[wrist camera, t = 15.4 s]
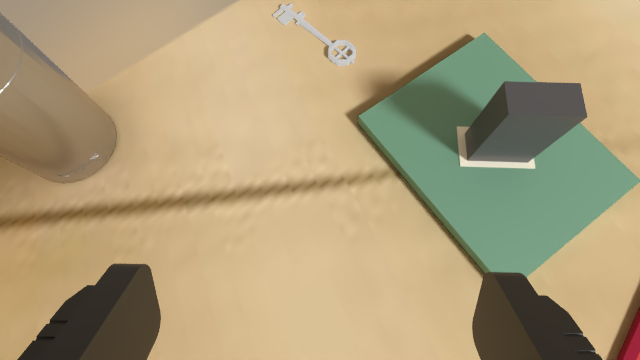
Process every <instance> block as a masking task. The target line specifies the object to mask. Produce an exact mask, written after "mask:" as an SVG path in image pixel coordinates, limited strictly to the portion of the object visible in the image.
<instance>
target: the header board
mask: <svg viewBox="0 0 640 360" xmlns="http://www.w3.org/2000/svg"><path fill="white" fill-rule="evenodd" d="M504 81H510V82H536V81H535V80H534V79H533V78H532V77H531V76H530V75H529V74H528V73H527V72H525V71H524V70H523V69H522V68H521V67H520V66H519V65H518V64H517V63H516V62H515V61H514V60H513V59H512V58H511V57H510V56H509V55H508V54H506V53H505V52H504V51H503V50H502V49H501V48H500V47H499V46H498V45H497V44H496V43H495V42H494V41H493V40H492V39H491V38H490V37H488V36H487V35H486V34H485V33H483V34H481V35H480V36H478V37H477V38H475V39H474V40H472V41H471V42H469V43H468V44H466V45H465V46H463V47H462V48H460V49H459V50H457V51H456V52H454V53H453V54H451V55H450V56H448V57H447V58H445V59H444V60H442V61H441V62H439V63H438V64H436V65H435V66H433V67H432V68H430V69H429V70H427V71H426V72H424V73H423V74H421V75H420V76H418V77H417V78H415V79H414V80H412V81H411V82H409V83H408V84H406V85H405V86H403V87H402V88H400V89H399V90H397V91H396V92H394V93H393V94H391V95H390V96H388V97H387V98H385V99H384V100H382V101H381V102H379V103H377V104H376V105H374V106H373V107H371V108H370V109H368V110H367V111H365V112H364V113H362V114H361V115H359V116H358V122H357V123H358V124H359V125H360V127H361V128H362V129H363V130H364V131H365V132H366V134H367V135H368V136H369V137H370V138H371V140H372V141H373V142H374V143H375V144H376V145H377V147H378V148H379V149H380V150H381V151H382V153H383V154H384V155H385V156H386V157H387V158H388V160H389V161H390V162H391V163H392V164H393V166H394V167H395V168H396V169H397V170H398V172H399V173H400V174H401V175H402V176H403V177H404V179H405V180H406V181H407V182H408V183H409V185H410V186H411V187H412V188H413V189H414V190H415V192H416V193H417V194H418V195H419V196H420V198H421V199H422V200H423V201H424V202H425V203H426V205H427V206H428V207H429V208H430V209H431V211H432V212H433V213H434V214H435V215H436V216H437V218H438V219H439V220H440V221H441V222H442V224H443V225H444V226H445V227H446V228H447V229H448V231H449V232H450V233H451V234H452V235H453V237H454V238H455V239H456V240H457V241H458V243H459V244H460V245H461V246H462V247H463V248H464V250H465V251H466V252H467V253H468V254H469V256H470V257H471V258H472V259H473V260H474V261H475V263H476V264H477V265H478V266H479V267H480V269H481V270H482V271H483V272H484V273H485V274H486V273H487V272H513V273H522V274H523V275H524V276H525V277H527V276H528V275H530V274H531V273H532V272H533V271H534V270H536V269H537V268H538V267H539V266H540V265H542V264H543V263H544V262H545V261H546V260H547V259H549V258H550V257H551V256H552V255H553V254H555V253H556V252H557V251H558V250H559V249H561V248H562V247H563V246H564V245H565V244H566V243H568V242H569V241H570V240H571V239H572V238H574V237H575V236H576V235H577V234H578V233H580V232H581V231H582V230H583V229H584V228H585V227H587V226H588V225H589V224H590V223H591V222H593V221H594V220H595V219H596V218H597V217H599V216H600V215H601V214H602V213H603V212H605V211H606V210H607V209H608V208H609V207H610V206H612V205H613V204H614V203H615V202H616V201H618V200H619V199H620V198H621V197H622V196H624V195H625V194H626V193H627V192H628V191H629V190H631V189H632V188H633V187H634V186H635V185H637V184H638V183H639V182H640V179H639V178H637V177H636V176H635V175H634V174H633V173H632V172H631V171H630V170H629V169H628V168H627V167H626V166H625V165H624V164H623V163H622V162H621V161H620V160H618V159H617V158H616V157H615V156H614V155H613V154H612V153H611V152H610V151H609V150H608V149H607V148H606V147H605V146H604V145H603V144H602V143H601V142H599V141H598V140H597V139H596V138H595V137H594V136H593V135H592V134H591V133H590V132H589V131H588V130H587V129H586V128H585V127H584V126H583V125H581V124H580V123H579V124H577V125H576V126H575V127H574V128H572V129H571V130H570V131H568V132H567V133H566V134H564V135H563V136H562V137H561V138H559V139H558V140H557V141H555V142H554V143H553V144H551V145H550V146H549V147H548V148H546V149H545V150H544V151H542V152H541V153H540V154H538V155H537V156H536V157H535V158H533V159H532V160H531V161H529V162H528V163H523V162H492V161H467V153H466V141H465V133H466V131H467V130H468V129H469V127H470V126H471V125H472V123H473V122H474V121H475V119H476V118H477V117H478V116H479V114H480V113H481V112H482V110H483V109H484V108H485V106H486V105H487V104H488V102H489V101H490V100H491V98H492V97H493V96H494V94H495V93H496V92H497V90H498V89H499V88H500V86H501V85H502V84H503V82H504Z"/></svg>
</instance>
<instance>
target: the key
mask: <svg viewBox="0 0 640 360" xmlns="http://www.w3.org/2000/svg"><path fill="white" fill-rule="evenodd" d="M291 7H293V4H289V5H288V6H286V5H285V4H282V5H281V6H280V9H279V10H278V11H276V12H275V13H274V14H273V16H274V17H276V16H278V14H279V13H281V12H282V11H285V12H284V13H283V14H282V15H281V16H279V17H278V18H277V19H278V20H279V21H280V22H281V23H282V24H284V25H286V24H287V23H288V22H289V21H291V20H292V19H296V20H297V22H296V24H297V25H299V24H300V25H301V26H303V27H304V28H305V29H307V30H308V31H309V32H311V33H312V34H313V35H315V36H316V37H317V38H319V39H320V40H321V41H323V42H324V43H325V44H327V45H328V46H330V47H328V58H329V59H330V60H331V61H332V62H333V63H335V64H336V65H337V66H347V65H348V64H349V63H350V62H351V63H352V64H353V63H354V62H355V61H354V59H355V58H356V48H355V46H353V45H352V44H351V43H350V42H348V41H347V40H337V41H335V42H334V43H332V42H331V41H330V40H328V38H326V37H325V36H324V35H322V34H321V33H320V32H319V31H317V30H316V29H315V28H314V27H312V26H311V25H310V24H309V23H308V22H306V21H305V20H304V19H303V17H305V14H304V13H303V12H302V11H301V12H300V13H298V14H296V13H295V12H294V11H292V10H291V9H290V8H291ZM342 45H345V46H346V48H345V49H344V50H343V51H341V50H339V49H338V48H337V46H342ZM334 49H335V50H336V51H338V52H339V54H338V55H337V56H336V57H335V56H334V55H333V54H331V51H332V50H334ZM348 49H350V50H351V51H352V54H351V55H350V56H349V57H348V56H347V55H346V54H345V52H346V51H347V50H348ZM341 55H343V56H344V57H345V58H347V59H338V58H339V57H340V56H341Z"/></svg>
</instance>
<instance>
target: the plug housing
mask: <svg viewBox="0 0 640 360" xmlns="http://www.w3.org/2000/svg"><path fill="white" fill-rule="evenodd" d="M585 118H587V113H586V109H585V104H584V99H583V94H582V89H581V84H580V83H546V82H510V81H504V82H503V84H502V85H501V86H500V88H499V89H498V90H497V92H496V93H495V94H494V96H493V97H492V98H491V100H490V101H489V102H488V104H487V105H486V106H485V108H484V109H483V110H482V112H481V113H480V114H479V116H478V117H477V118H476V119H475V121H474V122H473V123H472V125H471V126H470V127H469V129H468V130H467V131H466V133H465V141H466V153H467V161H492V162H523V163H528V162H529V161H531V160H532V159H533V158H535V157H536V156H537V155H538V154H540V153H541V152H542V151H544V150H545V149H546V148H548V147H549V146H550V145H551V144H553V143H554V142H555V141H557V140H558V139H559V138H561V137H562V136H563V135H564V134H566V133H567V132H568V131H570V130H571V129H572V128H574V127H575V126H576V125H577V124H579V123H580V122H581V121H583V120H584V119H585Z"/></svg>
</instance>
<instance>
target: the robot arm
mask: <svg viewBox="0 0 640 360" xmlns="http://www.w3.org/2000/svg"><path fill="white" fill-rule="evenodd" d="M115 143H116V128H115V125H114V122H113V121H112V119H111V117H110V116H109V115H108V114H107V113H106V112H105V111H104V110H103V109H102V108H101V107H100V106H99V105H97V104H96V103H95V102H94V101H93V100H92V99H91V98H90V97H89V96H88V95H87V94H86V93H85V92H84V91H83V90H82V89H81V88H80V87H79V86H78V85H77V84H75V83H74V82H73V81H72V80H71V79H70V78H69V77H68V76H67V75H66V74H65V73H64V72H63V71H62V70H61V69H60V68H59V67H58V66H57V65H55V64H54V63H53V62H52V61H51V60H50V59H49V58H48V57H47V56H46V55H45V54H44V53H43V52H42V51H41V50H40V49H39V48H38V47H36V46H35V45H34V44H33V43H32V42H31V41H30V40H29V39H28V38H27V37H26V36H25V35H24V34H23V33H22V32H21V31H20V30H19V29H17V28H16V27H15V26H14V25H13V24H12V23H11V22H10V21H9V20H7V19H6V17H4V16H3V15H2V14H1V13H0V156H1V157H3V158H5V159H7V160H9V161H11V162H13V163H15V164H17V165H19V166H21V167H23V168H25V169H27V170H29V171H31V172H33V173H35V174H37V175H39V176H41V177H43V178H45V179H47V180H50V181H53V182H58V183H69V182H75V181H79V180H82V179H84V178H87V177H89V176H91V175H92V174H94V173H95V172H96V171H98V170H99V169H100V168H101V167H102V166H103V165H104V164H105V163H106V162H107V160H108V159H109V157H110V156H111V154H112V152H113V150H114V147H115ZM160 320H161V315H160V308H159V304H158V299H157V295H156V290H155V286H154V282H153V277H152V273H151V269H150V267H149V266H148V265H146V264H113V265H111V266H110V267H109V268H108V269H107V271H106V272H105V273H104V274H103V276H102V277H101V278H100V280H99V281H98V282H97V284H96V285H87V286H86V287H84V288H83V289H82V290H80V291H79V292H78V293H76V294H75V295H73V296H72V297H71V298H69V299H68V300H66V301H65V302H64V304H63V305H62V306H61V307H60V308H59V310H58V311H57V312H56V313H55V315H54V316H53V317H52V318H51V319H50V323H49V324H46V326H45V327H44V328H43V329H42V330H41V332H40V333H39V334H38V335H37V339H36V341H32V343H31V344H30V345H29V346H28V347H27V349H26V350H25V351H24V352H23V354H22V355H21V356H20V357H19V358H18V360H147V357H148V355H149V353H150V351H151V349H152V347H153V345H154V343H155V341H156V338H157V336H158V332H159V328H160ZM472 329H473V338H474V343H475V346H476V349H477V351H478V354H479V356H480V359H481V360H602V358H601V357H600V356H599V354H596V353H595V349H594V347H593V346H592V345H591V343H590V342H589V340H588V339H587V338H586V337H584V336H583V332H582V331H581V330H580V328H579V327H578V325H577V324H576V323H575V321H574V320H573V319H572V317H571V316H570V314H569V313H568V312H567V311H565V310H564V309H563V308H562V307H560V306H559V305H558V304H557V303H555V302H554V301H553V300H552V299H550V298H549V297H548V296H538V294H537V293H536V291H535V290H534V288H533V287H532V285H531V284H530V283H529V281H528V280H527V278H526V277H525V276H524V275H523V274H522V273H513V272H487V273H486V274H485V275H484V278H483V281H482V285H481V289H480V293H479V297H478V301H477V305H476V309H475V313H474V317H473V325H472Z"/></svg>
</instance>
